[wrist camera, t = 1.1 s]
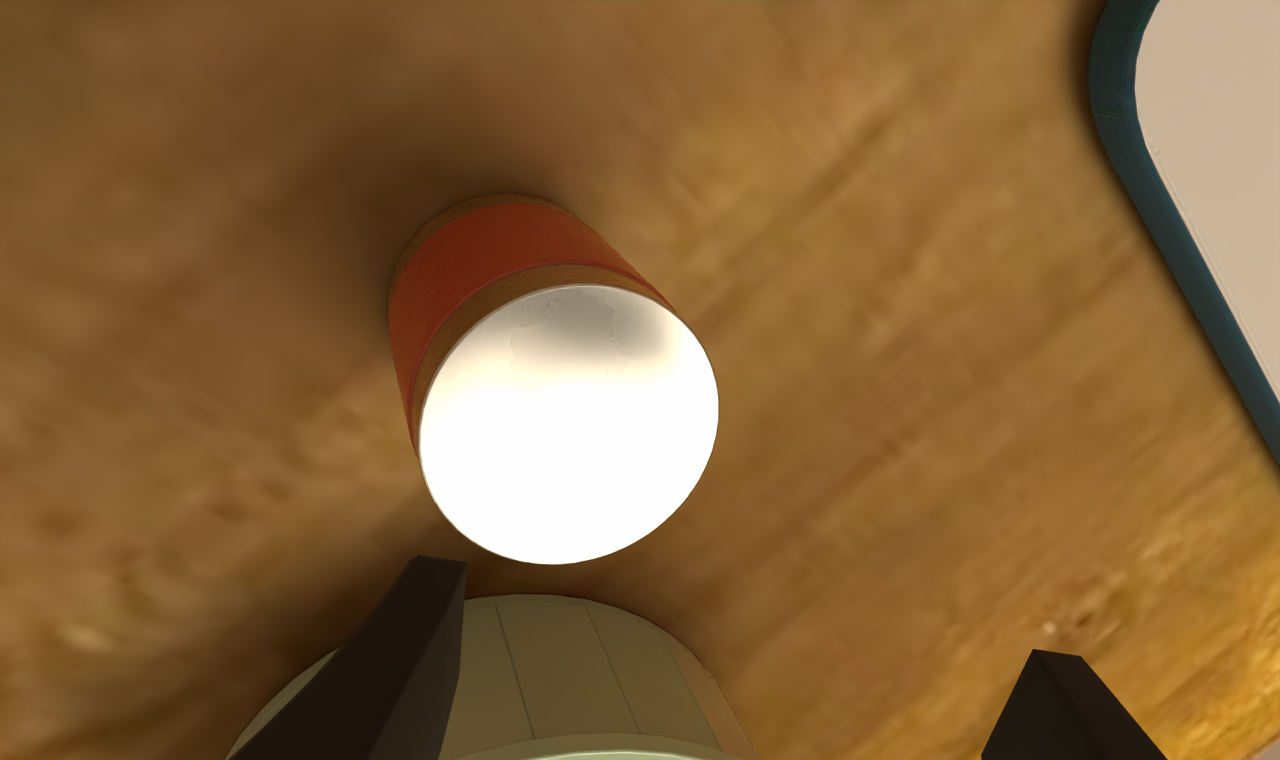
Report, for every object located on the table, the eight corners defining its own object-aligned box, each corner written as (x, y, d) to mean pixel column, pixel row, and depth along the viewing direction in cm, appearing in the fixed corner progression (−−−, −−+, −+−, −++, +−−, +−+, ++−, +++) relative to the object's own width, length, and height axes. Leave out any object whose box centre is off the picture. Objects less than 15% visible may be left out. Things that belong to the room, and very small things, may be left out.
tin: (429, 444, 24) (471, 611, 18) (349, 233, 22) (366, 342, 16) (639, 370, 25) (747, 505, 19) (585, 160, 23) (689, 237, 16)
